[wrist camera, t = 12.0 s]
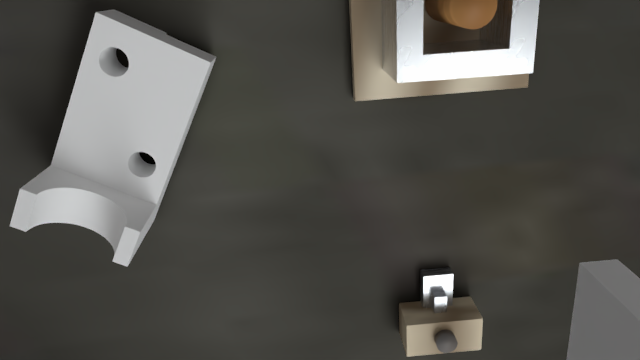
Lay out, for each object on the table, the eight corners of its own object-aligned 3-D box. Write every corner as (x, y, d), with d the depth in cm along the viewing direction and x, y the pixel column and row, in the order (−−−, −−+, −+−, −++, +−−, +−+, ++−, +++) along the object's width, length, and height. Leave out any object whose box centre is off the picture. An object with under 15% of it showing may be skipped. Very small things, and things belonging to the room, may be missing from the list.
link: (382, 69, 34) (397, 83, 29) (380, -62, 31) (395, -70, 26) (499, 60, 34) (532, 73, 30) (508, -71, 31) (546, -80, 27)
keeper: (353, 98, 36) (367, 123, 29) (344, -94, 31) (359, -114, 25) (521, 84, 36) (572, 107, 29) (536, -108, 32) (600, -131, 25)
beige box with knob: (399, 332, 43) (409, 363, 40) (398, 303, 42) (408, 332, 39) (468, 326, 43) (484, 356, 40) (470, 296, 42) (486, 325, 39)
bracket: (157, 214, 38) (127, 266, 31) (62, 179, 37) (9, 226, 30) (218, 55, 34) (199, 73, 27) (115, 9, 33) (67, 16, 26)
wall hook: (420, 310, 42) (425, 323, 41) (420, 269, 41) (426, 282, 39) (448, 307, 43) (455, 320, 41) (449, 267, 41) (456, 279, 39)
